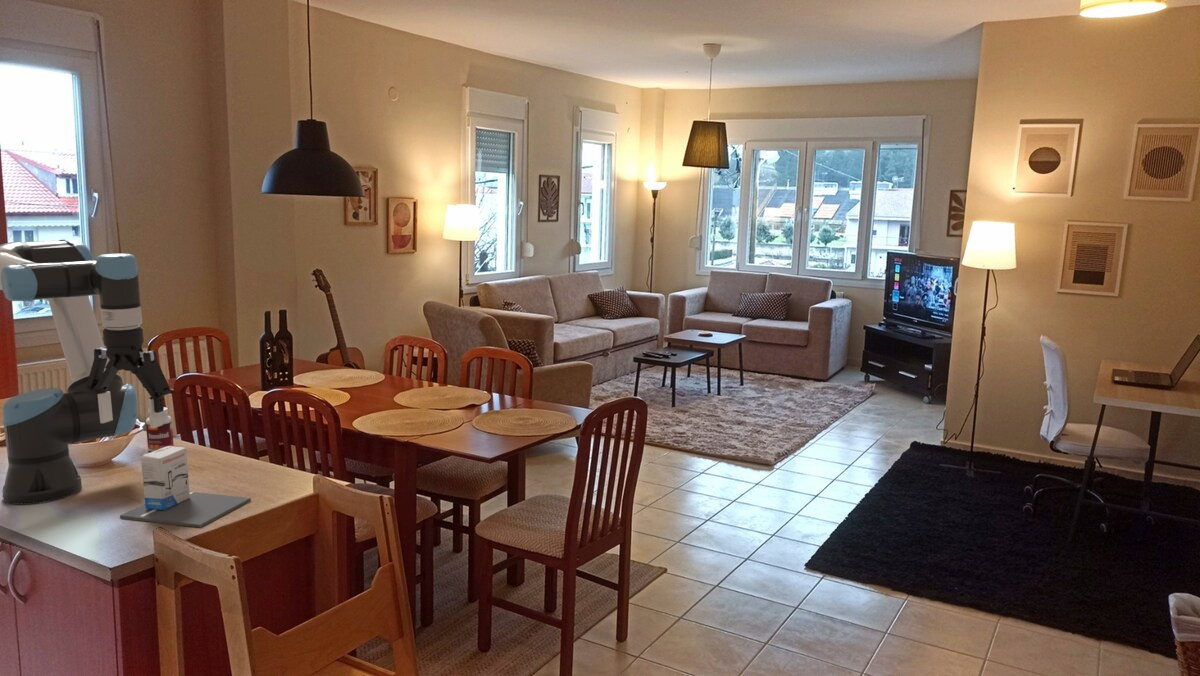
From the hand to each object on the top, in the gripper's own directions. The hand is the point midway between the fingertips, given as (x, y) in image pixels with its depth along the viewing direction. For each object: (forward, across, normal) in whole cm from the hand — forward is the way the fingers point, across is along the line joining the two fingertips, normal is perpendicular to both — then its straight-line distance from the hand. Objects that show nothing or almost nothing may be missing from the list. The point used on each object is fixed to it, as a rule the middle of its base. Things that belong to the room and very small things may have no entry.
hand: (131, 424), depth 186 cm
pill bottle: (+19, -24, +35) cm, 47 cm away
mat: (+18, +13, -1) cm, 22 cm away
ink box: (+17, +8, 0) cm, 19 cm away
